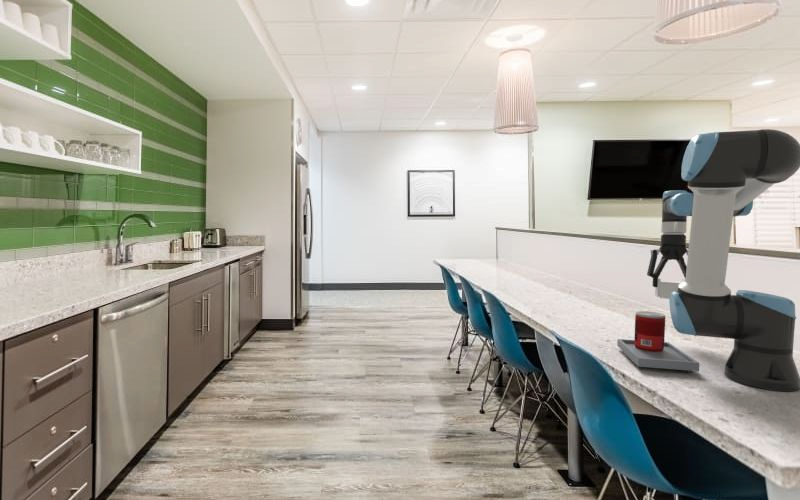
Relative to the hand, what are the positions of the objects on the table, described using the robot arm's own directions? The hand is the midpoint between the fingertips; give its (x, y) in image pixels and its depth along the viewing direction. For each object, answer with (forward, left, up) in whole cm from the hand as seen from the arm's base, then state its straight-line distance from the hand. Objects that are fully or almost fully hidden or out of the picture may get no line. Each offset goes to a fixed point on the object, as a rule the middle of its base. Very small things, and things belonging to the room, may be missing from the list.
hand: (670, 296), depth 149 cm
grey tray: (-14, +31, -15) cm, 37 cm away
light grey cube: (0, 0, -1) cm, 1 cm away
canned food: (-10, +28, -13) cm, 32 cm away
